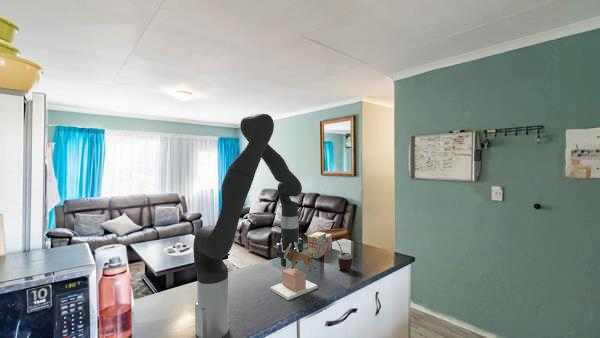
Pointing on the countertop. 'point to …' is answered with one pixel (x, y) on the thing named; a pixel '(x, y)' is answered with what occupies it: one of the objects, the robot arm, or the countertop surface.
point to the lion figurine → (299, 258)
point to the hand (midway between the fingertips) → (289, 264)
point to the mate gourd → (344, 260)
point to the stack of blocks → (319, 244)
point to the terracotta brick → (294, 279)
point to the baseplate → (291, 294)
